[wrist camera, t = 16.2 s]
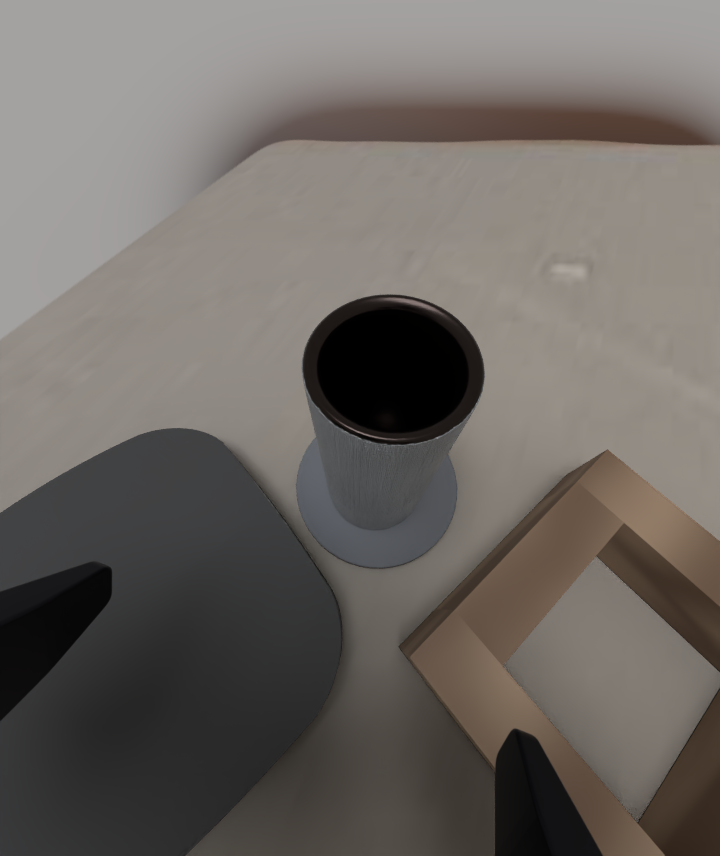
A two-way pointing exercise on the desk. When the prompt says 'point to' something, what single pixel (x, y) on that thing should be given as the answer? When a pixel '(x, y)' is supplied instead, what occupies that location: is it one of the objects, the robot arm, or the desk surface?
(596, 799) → the planter holder
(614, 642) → the desk surface
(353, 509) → the planter
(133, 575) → the media streaming box
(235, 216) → the desk surface
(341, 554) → the mat
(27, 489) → the desk surface
